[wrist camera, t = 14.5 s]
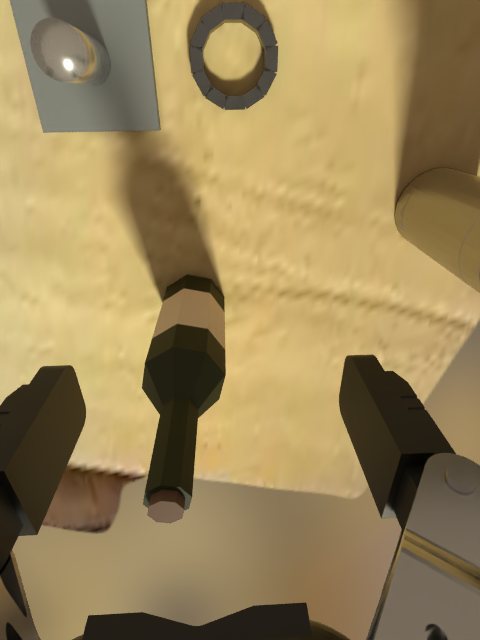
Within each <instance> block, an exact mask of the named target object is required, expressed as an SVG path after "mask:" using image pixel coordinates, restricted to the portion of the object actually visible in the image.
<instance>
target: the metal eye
mask: <svg viewBox="0 0 480 640" xmlns="http://www.w3.org/2000/svg"><path fill="white" fill-rule="evenodd" d="M265 18H266V17H264V16H263V15H262V14H260V13H259V12H258V11H256V10H255V9H254V8H252V7H251V6H250V5H248V4H246V6H245V9H244V3H222V8H221V5H220V4H219V5H217V6H216V7H215V8H213V9H212V10H211V11H210V12H208V13H207V14H206V15H204V16H203V17H202V18H201V19H202V22H201V21H200V20H199V23H198V25H197V28H196V30H195V33H194V35H193V38H192V40H191V43H190V45H191V46H192V47H190V59H191V73H192V74H193V75H192V76H193V78H194V79H195V81H196V83H197V85H198V87H199V88H200V90H201V92H202V94H203V96H205V95H206V99H208V100H210V101H211V102H213V103H214V104H216V105H217V106H219V107H221V108H222V109H223V108H224V106H225V110H239V109H245V107H246V109H247V108H249V107H250V106H252V105H253V104H255V103H256V102H258V101H259V100H261V99H262V98H263V97H264V95H266V94H267V92H268V90H269V88H270V86H271V84H272V82H273V80H274V78H275V76H276V73H274V72H277V63H278V46H275V45H276V44H277V41H276V38H275V36H274V34H273V31H272V29H271V27H270V25H269V22H268V20H266V21H265V22H264V20H265ZM263 22H264V23H263ZM224 23H243V24H244V25H245V26H247V27H248V28H250V29H251V30H252V31H254V32H255V33H256V34H257V37H258V39H259V41H260V43H261V45H262V48H263V50H264V70H263V72H262V74H261V77H260V79H259V81H258V83H257V85H256V87H254V88H253V89H251V90H250V91H249V92H247V93H246V94H244V95H243V96H226V95H225V94H223V93H222V92H220V91H219V90H217V89H215V88H214V87H213V86H212V85H211V83H210V81H209V79H208V77H207V75H206V73H205V72H204V58H203V51H204V48H205V46H206V43H207V41H208V38H209V36H210V34H211V33H212V32H213V31H215V30H216V29H217V28H218V27H220V26H221V25H222V24H224Z"/></svg>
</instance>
